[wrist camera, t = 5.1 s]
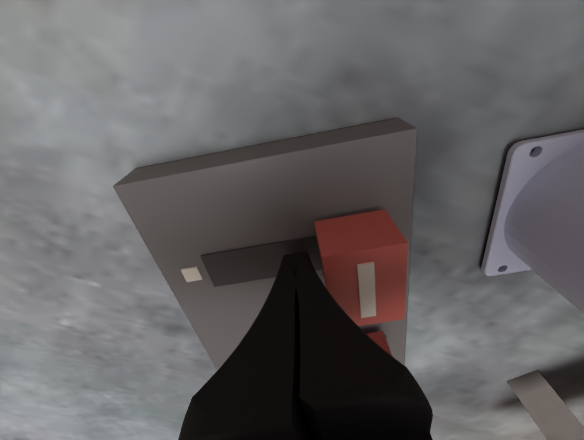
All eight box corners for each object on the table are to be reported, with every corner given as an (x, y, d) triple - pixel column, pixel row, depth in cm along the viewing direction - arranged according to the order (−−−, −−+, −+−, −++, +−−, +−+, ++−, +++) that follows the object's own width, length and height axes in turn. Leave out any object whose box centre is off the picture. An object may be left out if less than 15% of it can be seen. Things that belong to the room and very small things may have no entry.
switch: (385, 209, 12) (409, 244, 9) (385, 279, 14) (405, 320, 11) (314, 221, 12) (321, 258, 10) (325, 288, 14) (333, 331, 12)
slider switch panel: (397, 117, 12) (418, 128, 10) (392, 409, 25) (401, 436, 23) (135, 168, 13) (111, 187, 11) (264, 426, 26) (263, 453, 24)
